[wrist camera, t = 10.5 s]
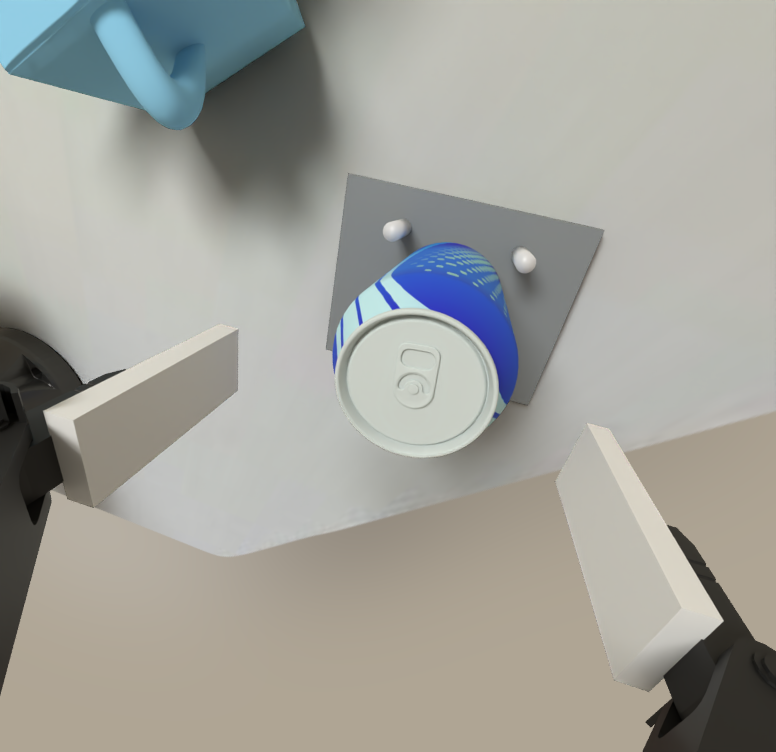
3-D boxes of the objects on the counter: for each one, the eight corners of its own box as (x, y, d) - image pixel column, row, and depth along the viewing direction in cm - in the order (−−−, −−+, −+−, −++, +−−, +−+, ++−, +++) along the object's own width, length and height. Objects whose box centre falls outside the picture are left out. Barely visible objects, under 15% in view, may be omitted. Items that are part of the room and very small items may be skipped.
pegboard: (330, 344, 34) (307, 367, 30) (353, 174, 28) (328, 169, 23) (526, 398, 32) (534, 431, 28) (599, 228, 26) (625, 235, 21)
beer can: (525, 302, 28) (573, 407, 14) (439, 367, 31) (408, 504, 17) (451, 214, 26) (419, 230, 12) (370, 293, 30) (275, 376, 16)
